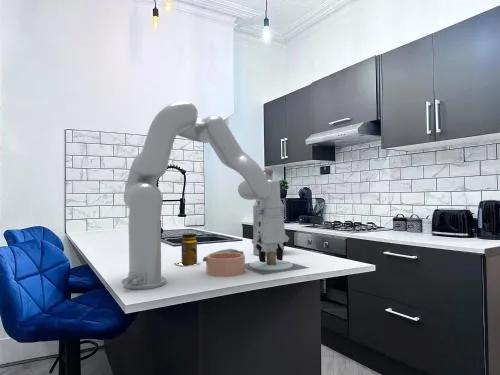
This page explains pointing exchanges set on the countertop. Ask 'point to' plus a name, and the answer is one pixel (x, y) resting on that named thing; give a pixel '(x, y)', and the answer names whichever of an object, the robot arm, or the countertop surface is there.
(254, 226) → the swing top bottle
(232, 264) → the bowl
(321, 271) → the countertop surface
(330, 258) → the countertop surface
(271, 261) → the lid
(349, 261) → the countertop surface
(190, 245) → the condiment
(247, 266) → the mat
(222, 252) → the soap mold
